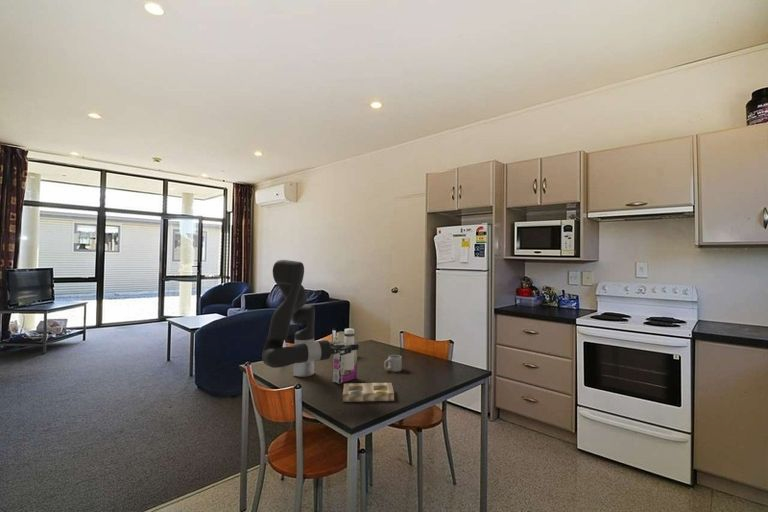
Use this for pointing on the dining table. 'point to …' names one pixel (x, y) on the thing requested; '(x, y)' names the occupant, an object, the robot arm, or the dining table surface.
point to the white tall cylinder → (350, 356)
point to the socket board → (368, 392)
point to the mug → (394, 363)
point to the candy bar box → (338, 369)
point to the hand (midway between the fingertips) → (355, 345)
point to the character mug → (339, 337)
